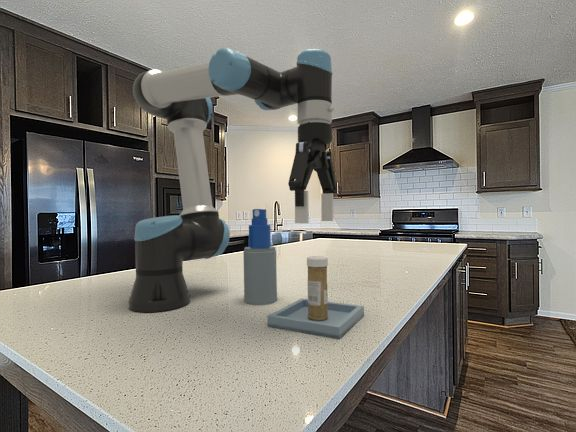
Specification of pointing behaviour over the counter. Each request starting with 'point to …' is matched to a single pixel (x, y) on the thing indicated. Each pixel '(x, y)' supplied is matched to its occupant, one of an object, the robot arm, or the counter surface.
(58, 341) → the counter surface
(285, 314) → the tray
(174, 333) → the counter surface
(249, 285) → the spray bottle
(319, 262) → the sprinkles bottle
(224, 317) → the counter surface
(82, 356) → the counter surface
